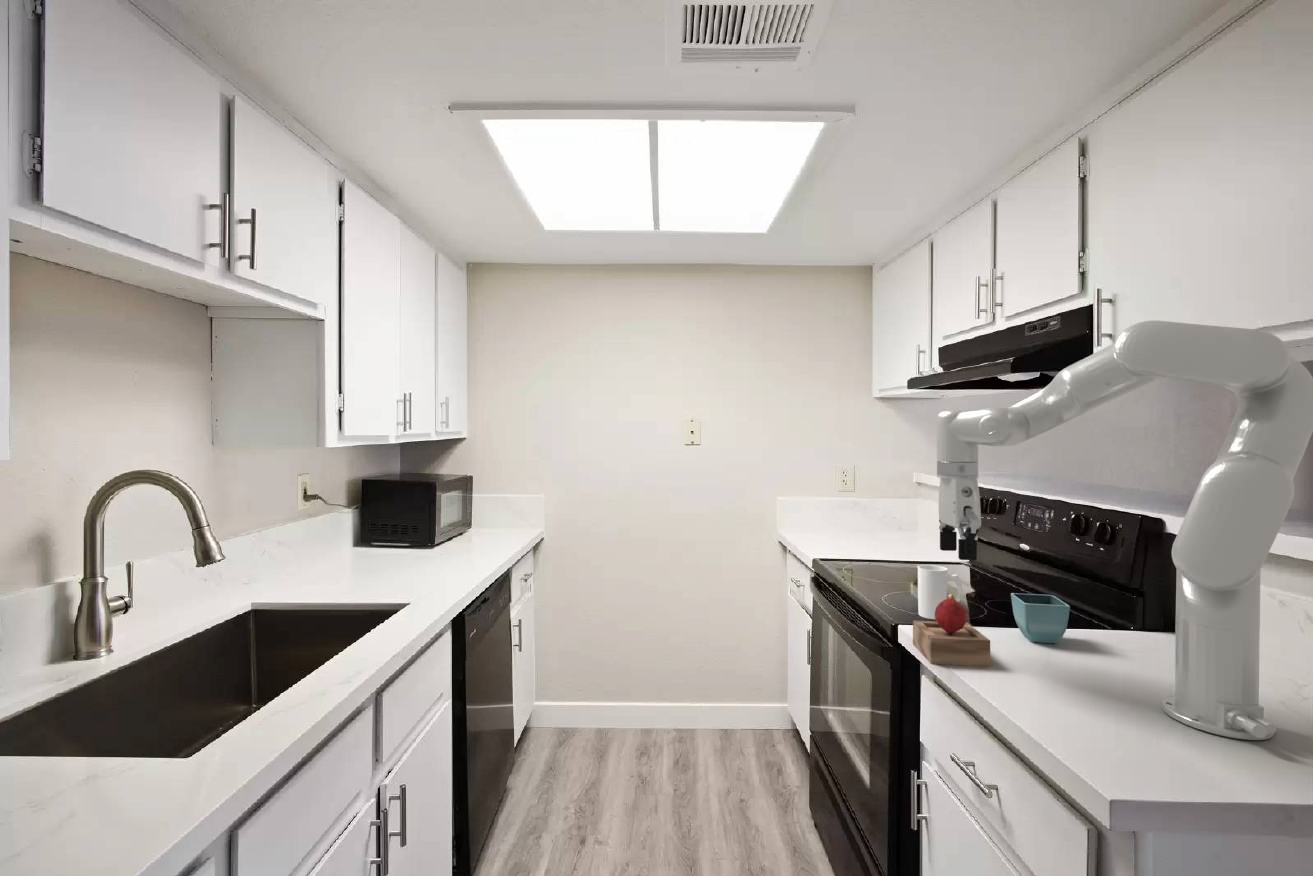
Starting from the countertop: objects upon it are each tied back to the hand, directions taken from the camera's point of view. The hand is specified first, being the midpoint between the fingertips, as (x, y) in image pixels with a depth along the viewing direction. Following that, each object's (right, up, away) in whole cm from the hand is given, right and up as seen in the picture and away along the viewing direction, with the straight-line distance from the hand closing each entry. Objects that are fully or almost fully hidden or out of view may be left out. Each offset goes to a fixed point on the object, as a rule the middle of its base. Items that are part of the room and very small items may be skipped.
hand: (957, 554), depth 119 cm
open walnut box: (-1, -20, 0) cm, 20 cm away
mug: (+9, -21, +25) cm, 34 cm away
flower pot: (+23, -21, +10) cm, 32 cm away
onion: (-1, -16, 0) cm, 16 cm away
